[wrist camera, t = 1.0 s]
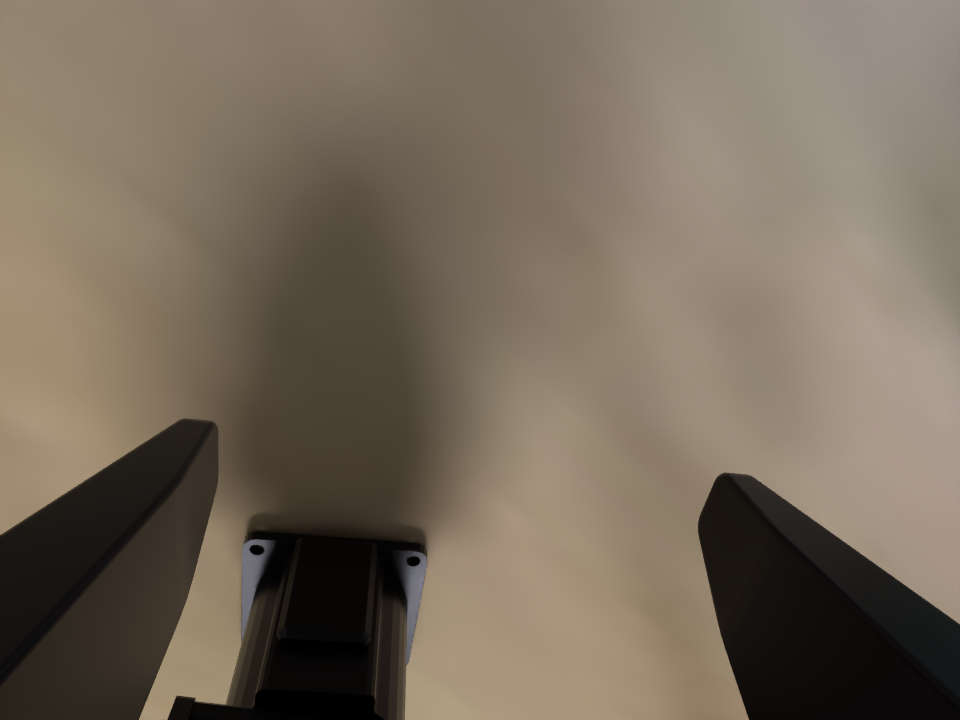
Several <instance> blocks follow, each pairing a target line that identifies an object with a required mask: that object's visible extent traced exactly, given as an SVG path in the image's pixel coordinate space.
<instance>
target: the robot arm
mask: <svg viewBox="0 0 960 720" xmlns="http://www.w3.org/2000/svg"><path fill="white" fill-rule="evenodd" d="M217 483H218V428H217V425H216V424H215V423H214V422H213V421H205V420H196V419H181V420H179V421H177V422H176V423H174V424H173V425H171V426H169V427H168V428H166V429H165V430H163V431H162V432H160V433H159V434H157V435H155V436H154V437H152V438H151V439H149V440H148V441H146V442H145V443H143V444H141V445H140V446H138V447H137V448H135V449H134V450H132V451H131V452H129V453H127V454H126V455H124V456H123V457H121V458H120V459H118V460H117V461H115V462H113V463H112V464H110V465H109V466H107V467H106V468H104V469H103V470H101V471H99V472H98V473H96V474H95V475H93V476H92V477H90V478H89V479H87V480H85V481H84V482H82V483H81V484H79V485H78V486H76V487H75V488H73V489H71V490H70V491H68V492H67V493H65V494H64V495H62V496H61V497H59V498H57V499H56V500H54V501H53V502H51V503H50V504H48V505H47V506H45V507H43V508H42V509H40V510H39V511H37V512H36V513H34V514H33V515H31V516H29V517H28V518H26V519H25V520H23V521H22V522H20V523H19V524H17V525H15V526H14V527H12V528H11V529H9V530H8V531H6V532H5V533H3V534H1V535H0V720H139V717H140V715H141V713H142V710H143V708H144V705H145V703H146V700H147V698H148V695H149V693H150V690H151V688H152V685H153V683H154V680H155V678H156V676H157V673H158V671H159V668H160V666H161V663H162V661H163V658H164V656H165V653H166V651H167V648H168V646H169V643H170V641H171V639H172V636H173V634H174V631H175V629H176V626H177V624H178V621H179V619H180V616H181V614H182V611H183V608H184V605H185V603H186V600H187V597H188V593H189V590H190V587H191V583H192V580H193V576H194V572H195V569H196V565H197V561H198V557H199V554H200V550H201V546H202V542H203V539H204V535H205V531H206V527H207V524H208V520H209V516H210V512H211V508H212V505H213V501H214V497H215V493H216V489H217ZM698 534H699V539H700V544H701V549H702V553H703V558H704V562H705V567H706V571H707V576H708V581H709V585H710V590H711V594H712V599H713V603H714V608H715V612H716V617H717V621H718V625H719V629H720V633H721V636H722V639H723V643H724V646H725V649H726V652H727V655H728V658H729V661H730V664H731V667H732V670H733V673H734V676H735V679H736V682H737V685H738V688H739V691H740V694H741V697H742V700H743V703H744V706H745V709H746V712H747V715H748V718H749V720H960V624H959V623H957V622H956V621H954V620H953V619H952V618H950V617H949V616H947V615H946V614H945V613H943V612H942V611H940V610H939V609H938V608H936V607H935V606H933V605H932V604H931V603H929V602H928V601H926V600H925V599H923V598H922V597H921V596H919V595H918V594H916V593H915V592H914V591H912V590H911V589H909V588H908V587H907V586H905V585H904V584H902V583H901V582H900V581H898V580H897V579H895V578H894V577H893V576H891V575H890V574H888V573H887V572H886V571H884V570H883V569H881V568H880V567H879V566H877V565H876V564H874V563H873V562H872V561H870V560H869V559H867V558H866V557H865V556H863V555H862V554H860V553H859V552H858V551H856V550H855V549H853V548H852V547H850V546H849V545H848V544H846V543H845V542H843V541H842V540H841V539H839V538H838V537H836V536H835V535H834V534H832V533H831V532H829V531H828V530H827V529H825V528H824V527H822V526H821V525H820V524H818V523H817V522H815V521H814V520H813V519H811V518H810V517H808V516H807V515H806V514H804V513H803V512H801V511H800V510H799V509H797V508H796V507H794V506H793V505H792V504H790V503H789V502H787V501H786V500H785V499H783V498H782V497H780V496H779V495H778V494H776V493H775V492H773V491H772V490H770V489H769V488H768V487H766V486H765V485H763V484H762V483H761V482H759V481H758V480H756V479H755V478H754V477H752V476H749V475H745V474H735V473H722V474H720V475H719V476H718V477H717V478H716V480H715V482H714V484H713V486H712V488H711V491H710V493H709V495H708V498H707V500H706V502H705V505H704V507H703V509H702V512H701V514H700V517H699V522H698ZM255 545H261V546H262V547H257V546H255ZM411 556H416V557H417V558H410V557H411ZM426 566H427V550H426V548H425V547H424V546H422V545H421V544H417V543H407V542H393V541H380V540H367V539H354V538H341V537H327V536H314V535H301V534H288V533H275V532H262V531H257V532H252V533H249V534H248V535H247V536H246V538H245V541H244V545H243V548H242V630H241V648H240V652H239V656H238V659H237V663H236V667H235V671H234V675H233V679H232V682H231V686H230V690H229V694H228V698H227V702H226V705H222V704H214V703H205V702H197V701H195V699H196V698H192V697H183V696H177V697H176V699H175V702H174V704H173V707H172V709H171V712H170V714H169V717H168V720H405V688H406V665H407V664H408V662H409V659H410V653H411V648H412V642H413V637H414V631H415V626H416V620H417V615H418V610H419V604H420V599H421V593H422V588H423V582H424V577H425V571H426Z"/></svg>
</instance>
